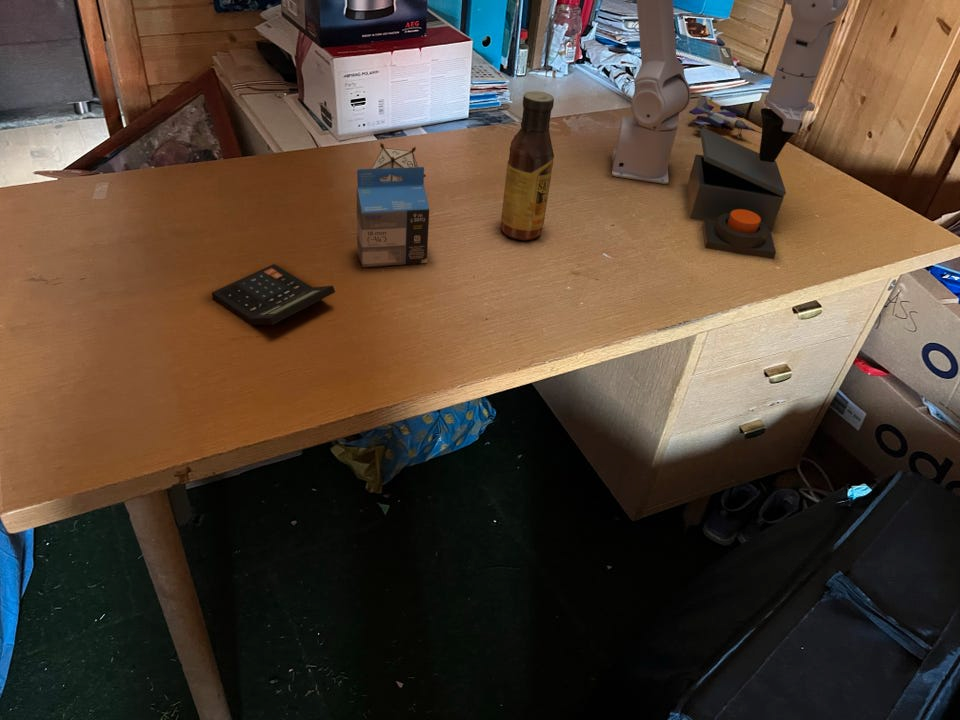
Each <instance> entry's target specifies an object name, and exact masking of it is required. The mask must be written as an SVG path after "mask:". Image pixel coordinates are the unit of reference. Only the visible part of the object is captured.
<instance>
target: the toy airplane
mask: <svg viewBox="0 0 960 720" xmlns="http://www.w3.org/2000/svg"><path fill="white" fill-rule="evenodd" d="M713 109H715V106H713V105H710V104H709V103H708V101H707V98H706V97H705V96H703V95H698V99H697V102H696V106H695V108H692V109H691V110H689V111H688V113H689V114H692V115H694V116H696V115H697V116H696V120H694V122H693V124H695V125H698V127H699V128H700V129H702V127H703V128H705V126H706V127H709V128H713V129H717V130H720V129H721V130H728V131H735V130H734V129H738V130H737V135H736V138H737V139H738V140H741V139H742V138H743V134H742V130H746V131H752V132H756V133H759V134H761V135H762V132H760V131H759V130H756V129H754V128H753V127H751V126H750V125H749V123H748V122H747V121H746V120H745V119H743V118H746V116H745V113H744V112H743V111H741V110H740V109H739V108H737V107H734V106H729V105H720V106H719V109H720V110H718V111H712V110H713ZM703 114H705V115H706V116H704V115H703ZM730 126H731V127H730ZM733 128H734V129H733Z"/></svg>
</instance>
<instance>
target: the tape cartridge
mask: <svg viewBox="0 0 960 720" xmlns="http://www.w3.org/2000/svg"><path fill="white" fill-rule="evenodd" d="M390 174H392V175H394V177H402V180H401V181H380V178H382V177H388V176H389V175H390ZM424 174H425V166H418V167H409V168H376V169H371V168H357V170H356V176H357V178H356V179H357V187H356V246H357V247H356V248H357V249H356V250H357V251H356V252H357V257H358V258H359V261H360V264H361V267H362V268H374V267H385V266H401V265H414V264H415V265H416V264H426V263H427V262H428V249H429V247H428V245H429V226H430V205H429V201H428V197H427V193H426V188H425V177H424Z"/></svg>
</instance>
